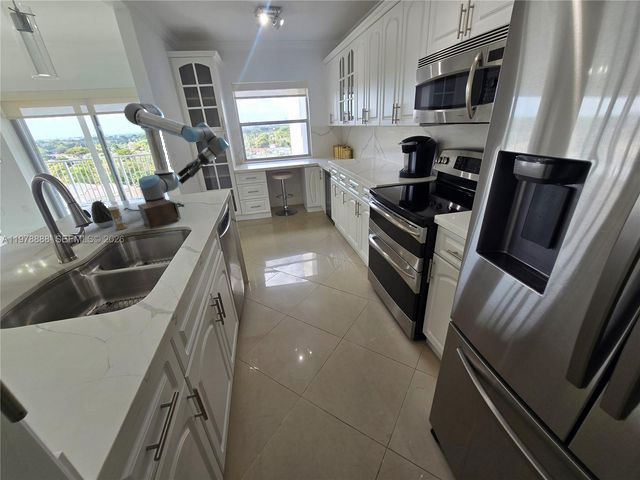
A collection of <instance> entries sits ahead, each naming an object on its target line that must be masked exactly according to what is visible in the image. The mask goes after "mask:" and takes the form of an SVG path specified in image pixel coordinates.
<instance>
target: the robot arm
mask: <svg viewBox="0 0 640 480" xmlns="http://www.w3.org/2000/svg"><path fill="white" fill-rule="evenodd" d="M123 113H124V117H125V118H126V120H127V121H128V122H129V123H131V124H133V125H134V126H138V127H140V128H141V129H142V130H143V131H144V133H145V136H146V140H147V141H146V142H147V144H148V147H149V151H150V155H151V158H152V163H153V166H154V169H155V170H154V171H153V174H149V175H145V176H142V177H140V178H139V179H138V184H139V185H138V186H139V188H140V191H141V194H142V196H143V199H144V202H145V203H149V202H154V201H158V200H163V199H166V200H167V198H166V195H165V194H167V193H169V192H172V191H174V190H176V189H178V188H179V186H180V184H181V185H183V184H184V183H186V182H187V181H188V180H189V179H191V178H193V177H195V176H196V174H198V172H199V171H200V170H201V169H202V168H203V167H204V165H205V166H208V165H209V164H210V163H211V162H212V161H215V160H216V159H217V158H218V156H220V155H221V154H222V153H224V152H225V151H226V150H227V149H229V147H230V145H229V144H228V142H227V141H226V140H225V139H224V138H223V136H219V137H218V135H217V134H216V133H215V132H214V131H213V130H212V128H211V127H210V126H209V125H208V124H207V123H206V122H204V121H203V122H200V123H198V124H197V125H196V126H195V127H194V126H190V125H188V124H185V123H182V122H179V121H176V120H172V119H170V118H166V117H164V114H163V111H162V110H161V108H159V107H158V106H157V105H155V104H152V103H139V102H131V103H128V104H127V105H126V106H125V107H124V110H123ZM162 133H166V134H169V135H172V136H175V137H177V138H182V139H183V140H185V141H186V142H188V143H198V142H206V144H207V145H208V146H207V147H205V148H204V149H203V150H202V151H201V152H200V153H198V154H197V155H196V158H195V159H194V160H192V161H191V162H189V163H187V164H186V165H185V167H184V168H182V169H181V170H180V171H178V173H174V170H173V169H172V168H171V167H170V163H169V159H168V158H169V157H168V155H167V151H166V147H165V143H164V139H163V136H162V135H163V134H162ZM126 210H128V211H131V212H133V211H134V212H140V210H139V209H131V208H129V207H125V208H124V209H123V211H126Z"/></svg>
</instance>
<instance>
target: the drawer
mask: <svg viewBox="0 0 640 480" xmlns="http://www.w3.org/2000/svg"><path fill="white" fill-rule="evenodd" d="M167 200H168V201H171V202H173V206H174V209H175V212H176V215H177V219H178V220H180V219H182V215H181V212H180V210H179V208H180V207H181V208H184V207H185V204H183V203H181V202H176V201H174V200H171V199H167Z"/></svg>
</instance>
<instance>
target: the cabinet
mask: <svg viewBox="0 0 640 480" xmlns="http://www.w3.org/2000/svg"><path fill="white" fill-rule="evenodd" d="M168 200H169V199H167V198H166V199H163V200H158V201H154V202H149V203H146V202H145V203H140V204H137V207H138V208H137V209H138V210H140V211H139V213H140V215H141V219H142V221H143V223H144V225H145V226H147V227H148V228H149V229H155V228H159V227H162V226H166V225H169V224H172V223H176V222H179V219H178V218H177V215H176V212H175V209H174V206H173V202H171V201H172V200H171V201H168Z"/></svg>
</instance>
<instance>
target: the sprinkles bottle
mask: <svg viewBox="0 0 640 480" xmlns="http://www.w3.org/2000/svg"><path fill="white" fill-rule="evenodd" d="M107 206H108V205H107ZM108 210H109V211H110V213H111V216H112V219H113V221H114V225H115V228H116V230H117V231H120V230H124V229H126V228H127V226H126V223H125V221H124V218H123V216H122V213H121V211H120V207H119V206H118V204H112V205H109V206H108Z"/></svg>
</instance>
